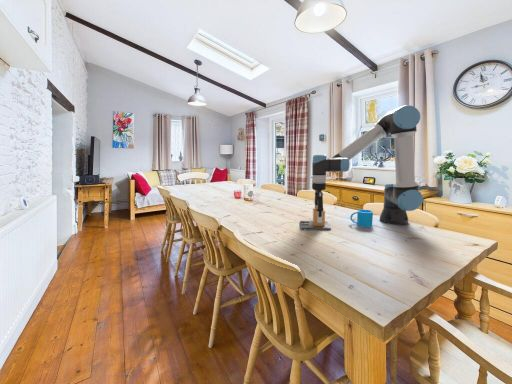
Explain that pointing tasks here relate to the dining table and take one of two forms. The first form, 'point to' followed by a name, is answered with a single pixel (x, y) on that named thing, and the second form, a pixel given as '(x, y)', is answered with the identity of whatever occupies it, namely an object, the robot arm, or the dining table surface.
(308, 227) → the plate
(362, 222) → the mug
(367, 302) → the dining table surface
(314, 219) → the brown rectangular block
